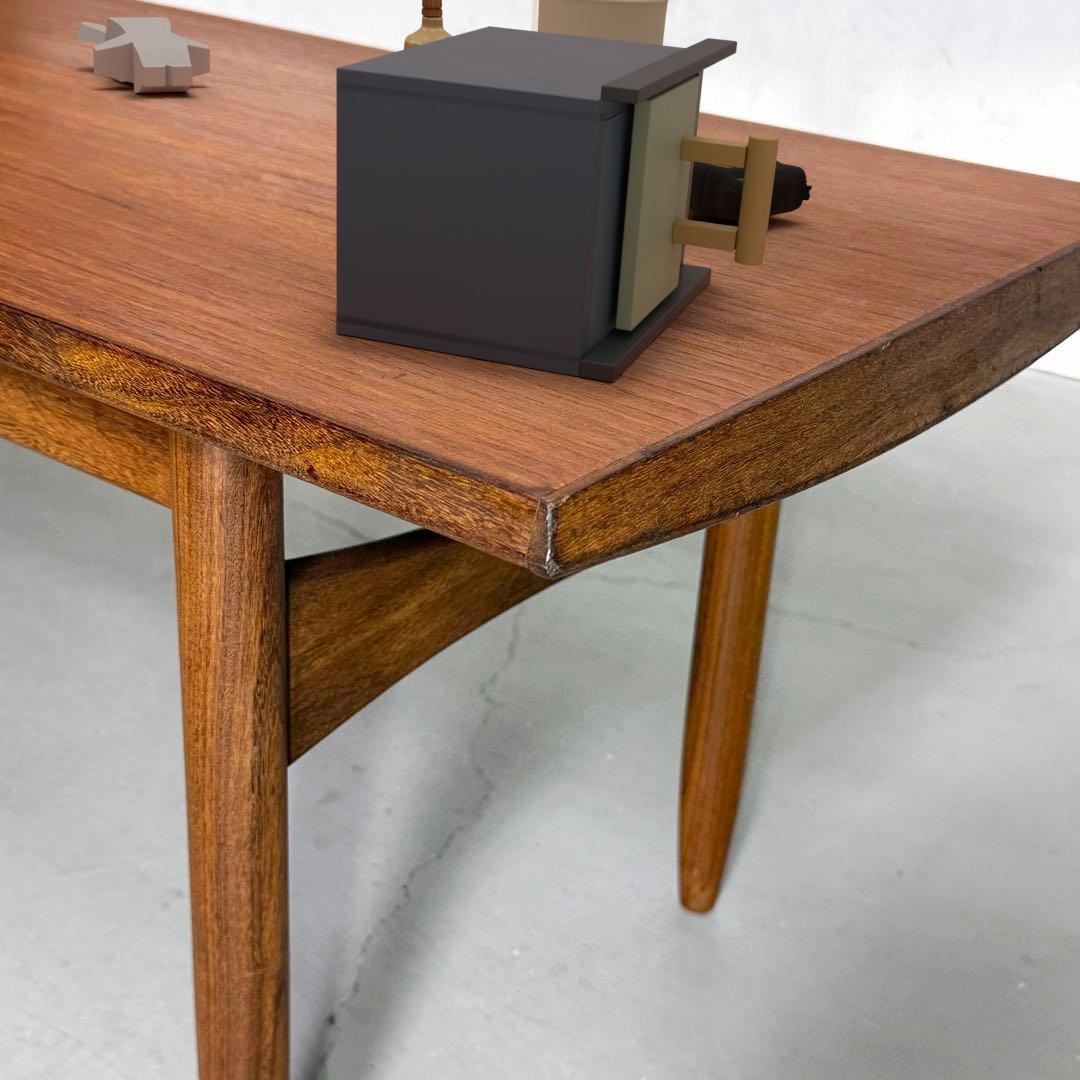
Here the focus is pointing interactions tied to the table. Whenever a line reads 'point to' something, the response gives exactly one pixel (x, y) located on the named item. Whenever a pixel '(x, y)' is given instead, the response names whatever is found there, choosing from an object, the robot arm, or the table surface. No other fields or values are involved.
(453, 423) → the table surface
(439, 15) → the hand bell
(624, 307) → the door
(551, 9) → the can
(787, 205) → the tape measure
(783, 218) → the table surface
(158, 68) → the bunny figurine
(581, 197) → the cabinet
